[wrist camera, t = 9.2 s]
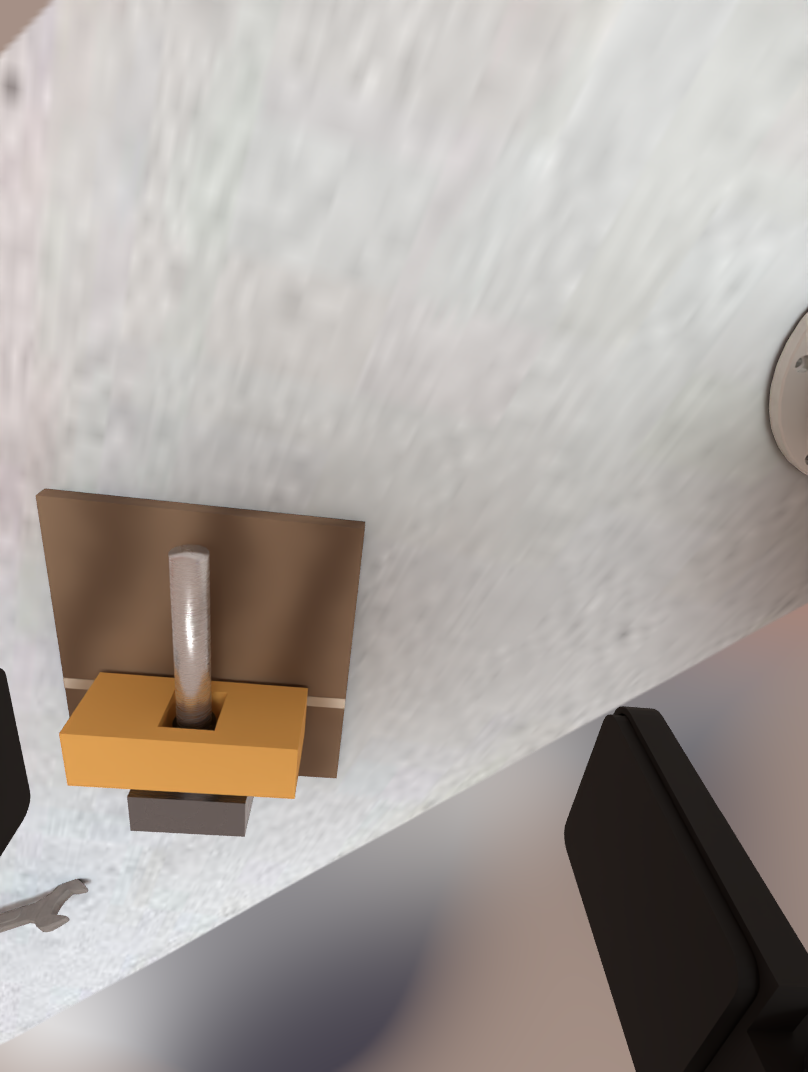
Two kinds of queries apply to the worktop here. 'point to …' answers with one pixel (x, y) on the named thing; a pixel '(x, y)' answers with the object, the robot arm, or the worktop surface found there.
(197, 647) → the grey block with rod
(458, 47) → the worktop surface
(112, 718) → the collar
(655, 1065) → the robot arm
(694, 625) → the worktop surface
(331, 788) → the worktop surface
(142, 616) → the pipe board
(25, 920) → the combination wrench
